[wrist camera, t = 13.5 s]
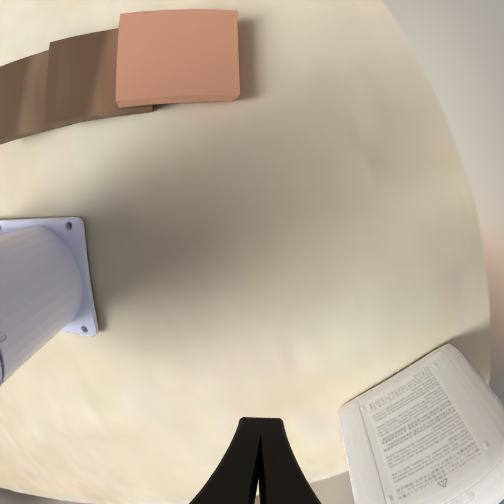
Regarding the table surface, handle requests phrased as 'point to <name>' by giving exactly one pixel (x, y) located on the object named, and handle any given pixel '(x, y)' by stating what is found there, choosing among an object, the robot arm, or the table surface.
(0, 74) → the walnut domino
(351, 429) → the white box with text
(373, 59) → the table surface
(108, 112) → the walnut domino
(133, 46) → the terracotta domino
